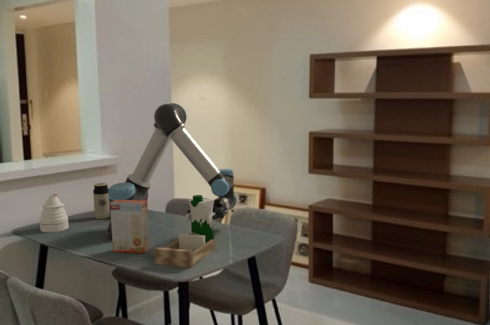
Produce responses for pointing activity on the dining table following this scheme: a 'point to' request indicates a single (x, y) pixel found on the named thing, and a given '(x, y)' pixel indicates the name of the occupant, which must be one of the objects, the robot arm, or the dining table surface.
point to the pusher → (191, 241)
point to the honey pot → (53, 215)
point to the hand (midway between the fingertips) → (197, 218)
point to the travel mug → (101, 201)
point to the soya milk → (201, 217)
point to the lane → (181, 254)
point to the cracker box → (130, 226)
